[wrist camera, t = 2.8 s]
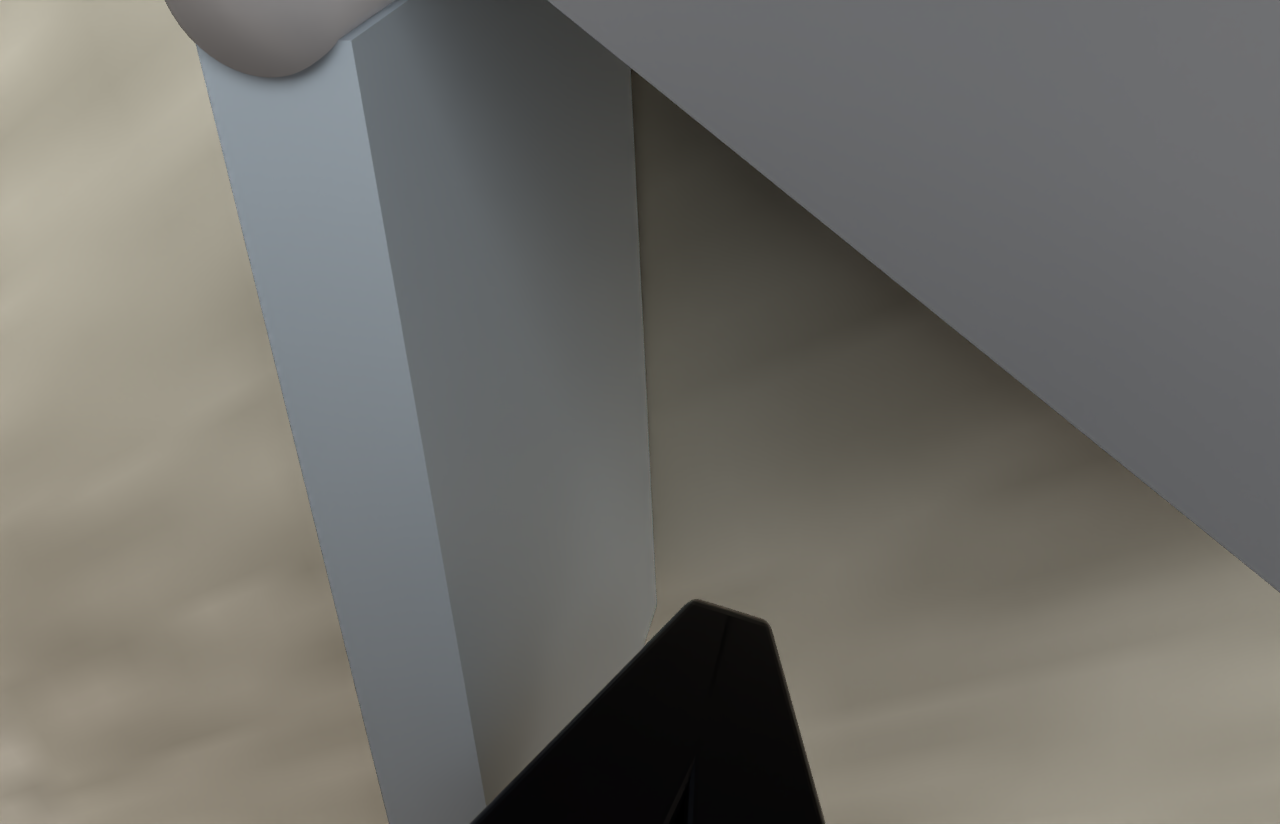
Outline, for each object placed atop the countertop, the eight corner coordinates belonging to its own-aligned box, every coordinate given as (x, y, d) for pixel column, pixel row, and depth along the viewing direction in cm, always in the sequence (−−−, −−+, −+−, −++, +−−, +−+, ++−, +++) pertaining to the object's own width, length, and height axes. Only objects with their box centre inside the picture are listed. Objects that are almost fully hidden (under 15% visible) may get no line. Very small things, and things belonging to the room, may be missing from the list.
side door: (622, -261, 9) (319, -135, 5) (663, 600, 14) (525, 1031, 10) (512, -257, 9) (128, -133, 5) (588, 589, 14) (421, 1007, 10)
